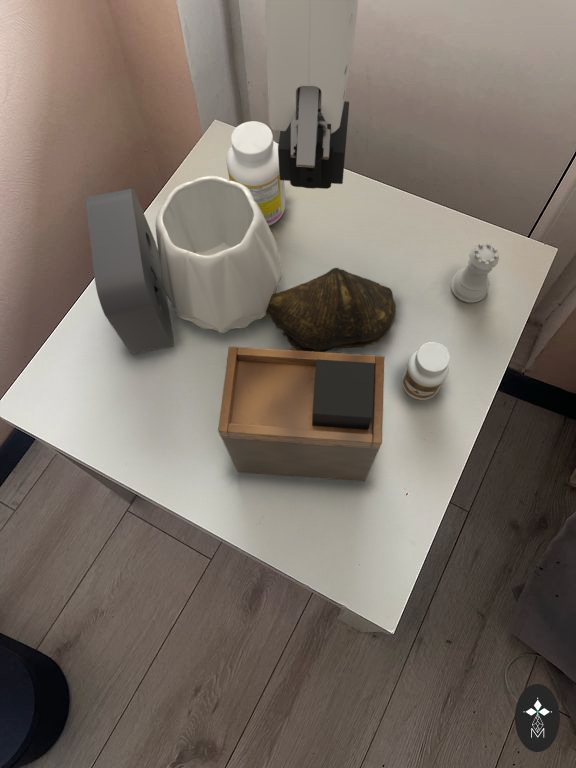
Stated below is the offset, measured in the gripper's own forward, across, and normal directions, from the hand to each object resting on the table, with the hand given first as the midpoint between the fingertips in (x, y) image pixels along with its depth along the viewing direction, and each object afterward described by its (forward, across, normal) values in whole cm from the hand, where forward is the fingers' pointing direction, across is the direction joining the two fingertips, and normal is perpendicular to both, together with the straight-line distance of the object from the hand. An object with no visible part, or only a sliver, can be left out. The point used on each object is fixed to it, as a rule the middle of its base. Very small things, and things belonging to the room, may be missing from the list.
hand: (314, 153), depth 49 cm
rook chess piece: (+28, -5, +19) cm, 34 cm away
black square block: (+13, +16, +4) cm, 21 cm away
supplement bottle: (+27, -15, -8) cm, 32 cm away
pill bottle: (+28, +8, +13) cm, 32 cm away
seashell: (+27, +1, +2) cm, 28 cm away
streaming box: (+20, +2, -23) cm, 31 cm away
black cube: (0, 0, 0) cm, 0 cm away
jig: (+27, +16, 0) cm, 32 cm away
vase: (+27, -2, -11) cm, 29 cm away
